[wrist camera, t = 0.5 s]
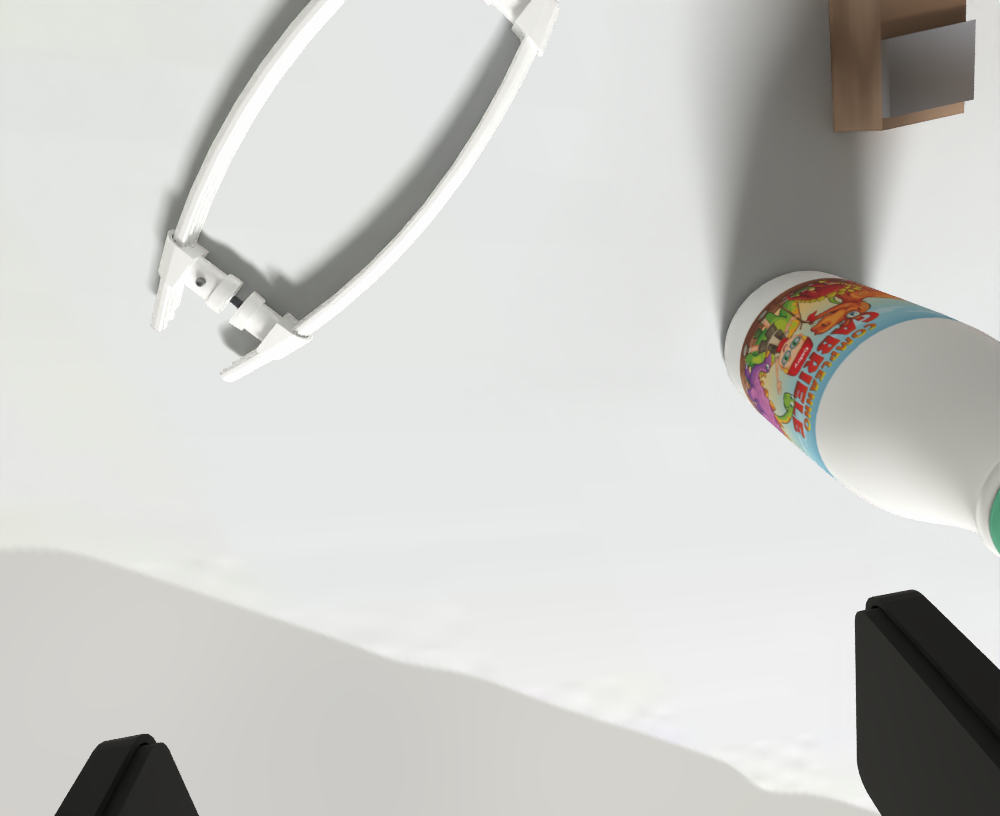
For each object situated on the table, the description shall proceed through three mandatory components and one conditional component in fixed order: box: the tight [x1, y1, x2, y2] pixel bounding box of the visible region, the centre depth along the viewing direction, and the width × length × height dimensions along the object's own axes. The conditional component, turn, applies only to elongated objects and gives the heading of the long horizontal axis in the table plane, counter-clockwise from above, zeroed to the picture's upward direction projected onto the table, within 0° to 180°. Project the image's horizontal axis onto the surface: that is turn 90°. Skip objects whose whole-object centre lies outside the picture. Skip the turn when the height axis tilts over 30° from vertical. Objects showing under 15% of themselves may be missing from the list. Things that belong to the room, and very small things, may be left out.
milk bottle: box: [724, 271, 1000, 557], centre depth 29 cm, size 8×8×20 cm
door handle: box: [151, 0, 560, 382], centre depth 33 cm, size 3×10×25 cm
